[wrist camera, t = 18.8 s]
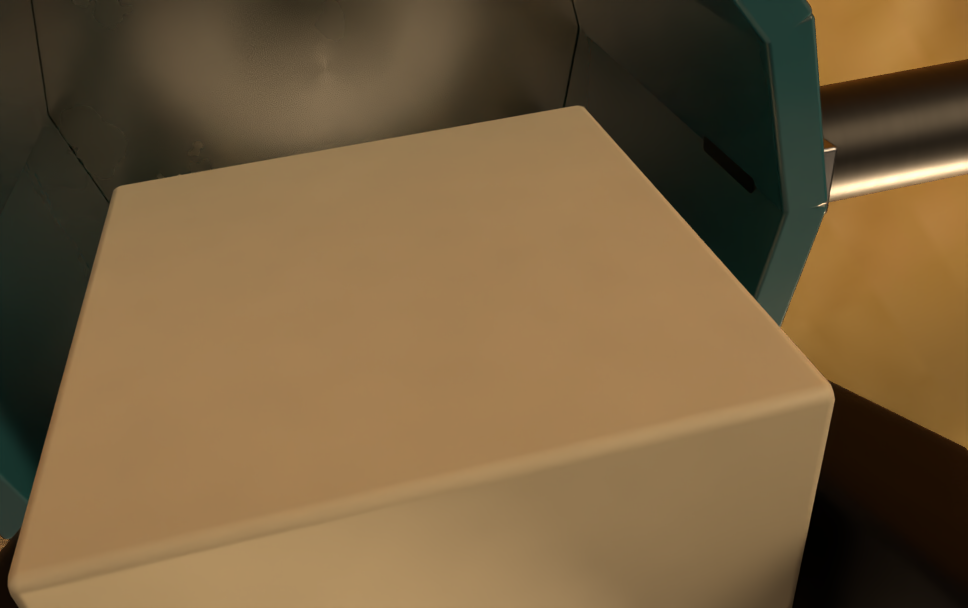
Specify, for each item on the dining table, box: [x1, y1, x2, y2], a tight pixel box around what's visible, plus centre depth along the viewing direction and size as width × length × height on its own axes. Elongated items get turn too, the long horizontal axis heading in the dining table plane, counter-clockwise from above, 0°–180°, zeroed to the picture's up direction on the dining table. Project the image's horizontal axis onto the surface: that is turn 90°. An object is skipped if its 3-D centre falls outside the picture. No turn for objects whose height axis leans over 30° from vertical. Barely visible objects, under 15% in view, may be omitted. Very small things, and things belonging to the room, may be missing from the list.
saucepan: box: [0, 0, 968, 540], centre depth 14 cm, size 11×22×8 cm, turn 95°
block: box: [8, 105, 835, 608], centre depth 8 cm, size 4×4×4 cm
